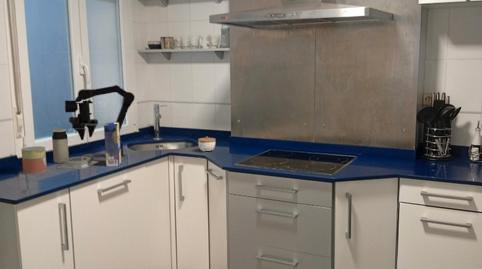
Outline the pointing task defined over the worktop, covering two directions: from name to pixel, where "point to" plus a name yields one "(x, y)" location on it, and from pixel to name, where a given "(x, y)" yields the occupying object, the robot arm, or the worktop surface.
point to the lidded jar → (206, 143)
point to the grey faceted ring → (77, 163)
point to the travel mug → (60, 145)
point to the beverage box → (112, 144)
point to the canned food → (34, 160)
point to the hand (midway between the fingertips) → (86, 138)
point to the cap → (88, 156)
